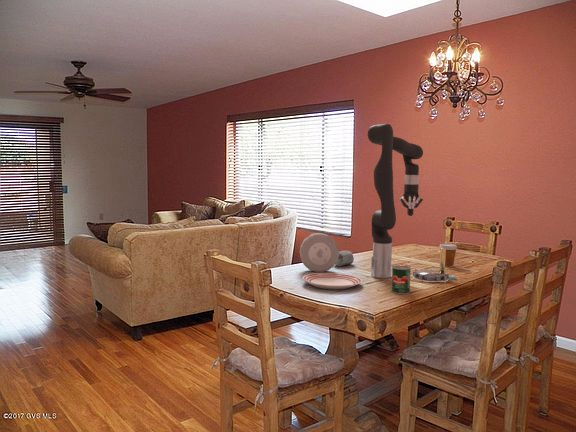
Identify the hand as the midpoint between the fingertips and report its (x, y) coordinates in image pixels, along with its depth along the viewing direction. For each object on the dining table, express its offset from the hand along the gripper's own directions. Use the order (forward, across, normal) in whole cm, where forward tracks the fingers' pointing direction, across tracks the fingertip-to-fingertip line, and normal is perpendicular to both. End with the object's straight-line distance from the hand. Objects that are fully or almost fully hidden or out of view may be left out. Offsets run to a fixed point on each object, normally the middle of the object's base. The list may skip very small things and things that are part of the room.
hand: (410, 215), depth 250 cm
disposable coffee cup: (+29, +25, +7) cm, 39 cm away
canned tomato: (+29, -20, -48) cm, 60 cm away
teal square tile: (+29, +14, -24) cm, 40 cm away
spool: (+29, -34, +10) cm, 46 cm away
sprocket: (+29, +3, -24) cm, 38 cm away
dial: (+29, -50, -6) cm, 58 cm away
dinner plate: (+30, -48, -34) cm, 66 cm away
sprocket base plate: (+29, +3, -24) cm, 38 cm away
